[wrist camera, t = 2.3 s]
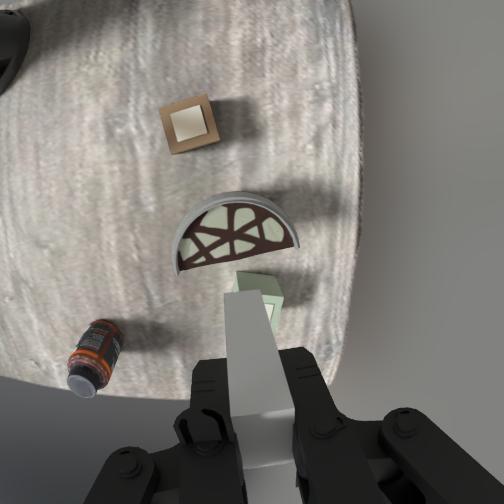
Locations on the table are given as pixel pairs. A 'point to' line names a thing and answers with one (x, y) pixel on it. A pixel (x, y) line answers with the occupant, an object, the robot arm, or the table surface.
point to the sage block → (262, 292)
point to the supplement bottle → (94, 358)
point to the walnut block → (189, 124)
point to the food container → (231, 230)
